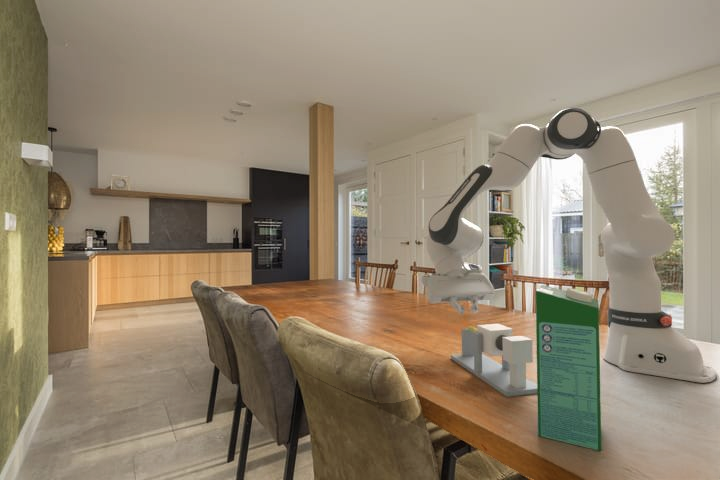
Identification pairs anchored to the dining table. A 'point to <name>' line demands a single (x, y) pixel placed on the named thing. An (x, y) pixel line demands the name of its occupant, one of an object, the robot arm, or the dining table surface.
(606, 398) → the dining table surface
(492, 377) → the bearing mount fixture
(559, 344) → the milk carton
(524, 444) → the dining table surface
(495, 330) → the sleeve
